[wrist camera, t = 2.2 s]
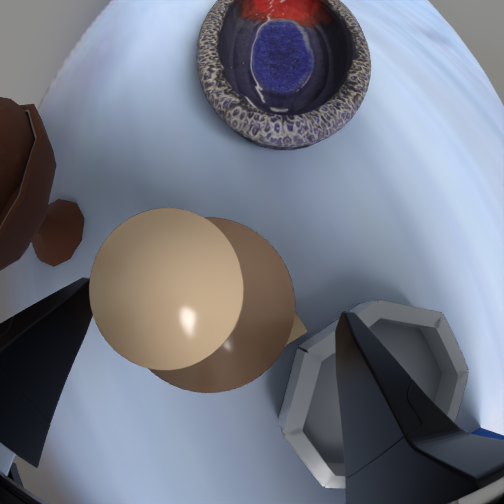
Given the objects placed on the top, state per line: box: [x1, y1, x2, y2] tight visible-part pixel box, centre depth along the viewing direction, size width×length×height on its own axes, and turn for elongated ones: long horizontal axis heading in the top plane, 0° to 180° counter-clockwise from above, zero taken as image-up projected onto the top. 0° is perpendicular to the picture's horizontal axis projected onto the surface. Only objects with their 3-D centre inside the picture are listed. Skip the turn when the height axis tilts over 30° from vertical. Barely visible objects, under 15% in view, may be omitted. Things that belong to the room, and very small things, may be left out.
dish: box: [197, 0, 371, 150], centre depth 21 cm, size 16×31×5 cm, turn 174°
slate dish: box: [278, 300, 469, 488], centre depth 15 cm, size 12×12×3 cm
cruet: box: [89, 208, 295, 393], centre depth 11 cm, size 5×5×13 cm
